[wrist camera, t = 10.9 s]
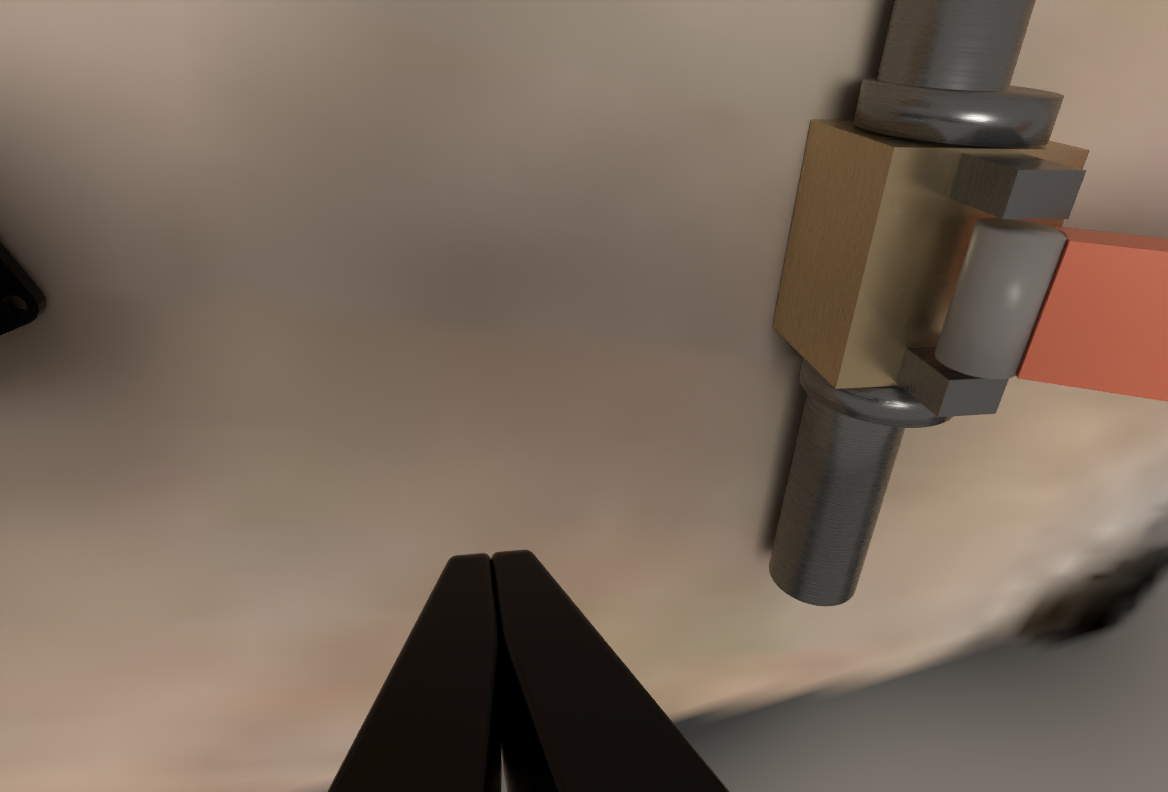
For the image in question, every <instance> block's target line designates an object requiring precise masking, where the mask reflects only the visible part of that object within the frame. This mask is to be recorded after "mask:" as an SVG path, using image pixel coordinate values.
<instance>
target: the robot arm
mask: <svg viewBox="0 0 1168 792" xmlns="http://www.w3.org/2000/svg"><path fill="white" fill-rule="evenodd" d="M11 295H15V296H18V297H20V298H21V299H23V300H24V301H25V303H26V305H27V309H23V308H20V307H18V306H16V305H15V304H14V303H13V302H12V300H11V298H10V297H11ZM46 306H47V305H46V298H45V296H44V294H43V293H42V291H41V290H40V289H39V287H38V286H37V285H36V284H35V283H34V282H33V280H32V279H31V278H30V277H29V276H28V274H27V273H26V272H25V271H24V270H23V268H22V267H21V266H20V265H19V264H18V262H17V261H16V260H15V259H14V258H13V256H12V255H11V254H10V253H9V252H8V251H7V249H6V248H5V247H4V246H3V245H2V243H1V242H0V335H2V334H5V333H7V332H9V331H12V330H14V329H17V328H19V327H21V326H24V325H26V324H28V323H30V322H32V321H33V320H35V319H36V318H37V317H38V316H40V315H41V314H42V313H43V312H44V310H45V308H46ZM501 750H502V760H503V770H504V776H505V782H506V788H507V792H729V790H728V789H727V788H726V786H725V785H724V784H723V783H722V782H721V780H720V779H719V778H718V777H717V776H716V774H715V773H714V772H713V771H712V770H711V768H710V767H709V766H708V765H707V764H706V762H705V761H704V760H703V759H702V757H701V756H700V755H699V754H698V753H697V751H696V750H695V749H694V748H693V746H692V745H691V744H690V743H689V742H688V740H687V739H686V738H685V737H684V736H683V734H682V733H681V732H680V731H679V730H678V728H677V727H676V726H675V725H674V723H673V722H672V721H671V720H670V719H669V717H668V716H667V715H666V714H665V713H664V711H663V710H662V709H661V708H660V706H659V705H658V704H657V703H656V702H655V700H654V699H653V698H652V697H651V696H650V694H649V693H648V692H647V691H646V689H645V688H644V687H643V686H642V685H641V683H640V682H639V681H638V680H637V679H636V677H635V676H634V675H633V674H632V673H631V671H630V670H629V669H628V668H627V666H626V665H625V664H624V663H623V662H622V660H621V659H620V658H619V657H618V656H617V654H616V653H615V652H614V651H613V650H612V648H611V647H610V646H609V645H608V643H607V642H606V641H605V640H604V639H603V637H602V636H601V635H600V634H599V633H598V631H597V630H596V629H595V628H594V627H593V625H592V624H591V623H590V622H589V620H588V619H587V618H586V617H585V616H584V614H583V613H582V612H581V611H580V610H579V608H578V607H577V606H576V605H575V603H574V602H573V601H572V600H571V599H570V597H569V596H568V595H567V594H566V593H565V591H564V590H563V589H562V588H561V587H560V585H559V584H558V583H557V582H556V580H555V579H554V578H553V577H552V576H551V574H550V573H549V572H548V571H547V570H546V568H545V567H544V566H543V565H542V564H541V562H540V561H539V560H538V559H537V557H536V556H535V555H534V554H533V553H532V552H531V551H529V550H515V551H503V552H496V553H494V554H493V556H492V558H491V559H490V557H489V555H488V554H486V553H479V554H467V555H456V556H453V557H451V558H450V559H449V561H448V562H447V564H446V566H445V567H444V569H443V571H442V573H441V575H440V577H439V579H438V581H437V583H436V585H435V587H434V589H433V590H432V592H431V594H430V596H429V598H428V600H427V602H426V604H425V606H424V608H423V610H422V612H421V613H420V615H419V617H418V619H417V621H416V623H415V625H414V627H413V629H412V631H411V633H410V635H409V636H408V638H407V640H406V642H405V644H404V646H403V648H402V650H401V652H400V654H399V656H398V657H397V659H396V661H395V663H394V665H393V667H392V669H391V671H390V673H389V675H388V677H387V679H386V680H385V682H384V684H383V686H382V688H381V690H380V692H379V694H378V696H377V698H376V700H375V702H374V703H373V705H372V707H371V709H370V711H369V713H368V715H367V717H366V719H365V721H364V723H363V725H362V726H361V728H360V730H359V732H358V734H357V736H356V738H355V740H354V742H353V744H352V746H351V747H350V749H349V751H348V753H347V755H346V757H345V759H344V761H343V763H342V765H341V767H340V769H339V770H338V772H337V774H336V776H335V778H334V780H333V782H332V784H331V786H330V788H329V790H328V792H501V778H502V777H501V776H502V775H501V774H502V767H501V766H502V761H501Z"/></svg>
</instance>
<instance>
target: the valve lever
mask: <svg viewBox="0 0 1168 792" xmlns="http://www.w3.org/2000/svg"><path fill="white" fill-rule="evenodd" d="M935 357H936V359H937V360H938V361H939V362H941V363H942V364H943V365H945V366H947V367H949V368H950V369H953V370H955V371H958V372H960V373H963V374H967V375H970V376H974V377H979V378H986V379H1007V378H1011V377H1014V376H1015V375H1016V376H1017V378H1019V379H1026V380H1032V381H1039V382H1045V383H1052V384H1058V385H1065V386H1071V387H1078V388H1084V389H1091V390H1097V391H1104V392H1110V393H1117V394H1123V395H1130V396H1136V397H1143V398H1149V399H1156V400H1162V401H1168V239H1164V238H1155V237H1146V236H1137V235H1128V234H1118V233H1109V232H1100V231H1091V230H1082V229H1072V228H1063V227H1054V228H1053V227H1050V226H1047V225H1043V224H1039V223H1034V222H1029V221H1023V220H1016V219H1001V218H983V219H979V220H976V221H975V225H974V228H973V231H972V234H971V237H970V241H969V244H968V247H967V250H966V254H965V257H964V260H963V263H962V266H961V270H960V273H959V276H958V279H957V283H956V286H955V289H954V292H953V295H952V299H951V302H950V305H949V308H948V312H947V315H946V318H945V321H944V324H943V328H942V331H941V334H940V337H939V341H938V344H937V347H936V350H935Z"/></svg>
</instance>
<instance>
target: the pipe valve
mask: <svg viewBox="0 0 1168 792" xmlns="http://www.w3.org/2000/svg"><path fill="white" fill-rule="evenodd" d="M1035 1H1036V0H895V1H894V5H893V10H892V14H891V19H890V23H889V28H888V32H887V37H886V41H885V46H884V50H883V55H882V59H881V64H880V68H879V73H878V77H876V78H865V79H863V80H862V84H861V89H860V93H859V98H858V103H857V107H856V112H855V117H854V121H845V120H811V123H810V129H809V134H808V139H807V145H806V150H805V155H804V161H803V166H802V172H801V177H800V182H799V188H798V193H797V198H796V204H795V209H794V214H793V220H792V225H791V231H790V236H789V241H788V247H787V252H786V257H785V263H784V268H783V273H782V279H781V284H780V290H779V295H778V300H777V306H776V311H775V316H774V322H773V328H774V329H775V330H776V331H777V332H778V333H779V334H780V335H781V336H782V337H783V338H784V339H785V340H786V341H787V342H788V343H789V344H790V345H791V346H792V347H793V348H794V349H795V350H796V351H797V352H798V353H799V354H800V355H801V356H803V360H802V365H801V370H800V375H799V379H800V383H801V385H802V387H803V388H804V390H805V391H806V392H807V396H806V401H805V405H804V410H803V414H802V419H801V423H800V428H799V432H798V437H797V441H796V446H795V450H794V455H793V459H792V464H791V468H790V473H789V477H788V482H787V486H786V491H785V495H784V500H783V504H782V509H781V513H780V518H779V522H778V527H777V531H776V536H775V540H774V545H773V549H772V554H771V558H770V563H769V572H770V575H771V577H772V579H773V581H774V582H775V583H776V584H777V586H778V587H779V588H780V589H781V590H783V591H784V592H785V593H787V594H788V595H790V596H791V597H793V598H795V599H797V600H799V601H802V602H805V603H808V604H812V605H817V606H835V605H839V604H842V603H844V602H846V601H848V600H849V599H850V598H851V597H852V596H853V595H854V593H855V590H856V587H857V584H858V580H859V577H860V574H861V570H862V567H863V564H864V561H865V557H866V554H867V551H868V548H869V544H870V541H871V538H872V534H873V531H874V528H875V525H876V521H877V518H878V515H879V512H880V508H881V505H882V502H883V498H884V495H885V492H886V489H887V485H888V482H889V479H890V475H891V472H892V469H893V466H894V462H895V459H896V456H897V453H898V449H899V446H900V443H901V439H902V436H903V433H904V430H905V428H920V427H929V426H934V425H938V424H941V423H944V422H946V421H948V420H950V419H951V418H952V417H953V416H963V415H979V414H995V413H996V411H997V409H998V406H999V403H1000V401H1001V398H1002V395H1003V393H1004V390H1005V387H1006V385H1007V382H1008V379H1009V378H1007V379H986V378H979V377H974V376H970V375H967V374H963V373H960V372H958V371H955V370H953V369H950V368H949V367H947V366H945V365H943V364H942V363H941V362H939V361H938V360H937V359H936V357H935V350H936V347H937V344H938V341H939V337H940V334H941V331H942V328H943V324H944V321H945V318H946V315H947V312H948V308H949V305H950V302H951V299H952V295H953V292H954V289H955V286H956V283H957V279H958V276H959V273H960V270H961V266H962V263H963V260H964V257H965V254H966V250H967V247H968V244H969V241H970V237H971V234H972V231H973V228H974V225H975V221H976V220H979V219H983V218H1001V219H1016V220H1023V221H1029V222H1034V223H1039V224H1043V225H1047V226H1050V227H1053V228H1054V227H1061V226H1062V223H1063V221H1064V219H1068V218H1069V215H1070V213H1071V210H1072V207H1073V205H1074V202H1075V199H1076V197H1077V194H1078V191H1079V188H1080V186H1081V183H1082V180H1083V178H1084V175H1085V172H1086V170H1082V169H1083V167H1084V164H1085V161H1086V159H1087V156H1088V153H1089V150H1086V149H1082V148H1078V147H1074V146H1070V145H1065V144H1061V143H1057V142H1053V141H1049V139H1050V136H1051V133H1052V130H1053V127H1054V124H1055V121H1056V118H1057V116H1058V113H1059V110H1060V107H1061V104H1062V101H1063V98H1064V96H1063V95H1061V94H1058V93H1054V92H1049V91H1044V90H1038V89H1031V88H1024V87H1016V86H1010V82H1011V79H1012V76H1013V73H1014V69H1015V66H1016V63H1017V60H1018V56H1019V53H1020V50H1021V46H1022V43H1023V40H1024V37H1025V33H1026V30H1027V27H1028V24H1029V20H1030V17H1031V14H1032V10H1033V7H1034V4H1035Z"/></svg>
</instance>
